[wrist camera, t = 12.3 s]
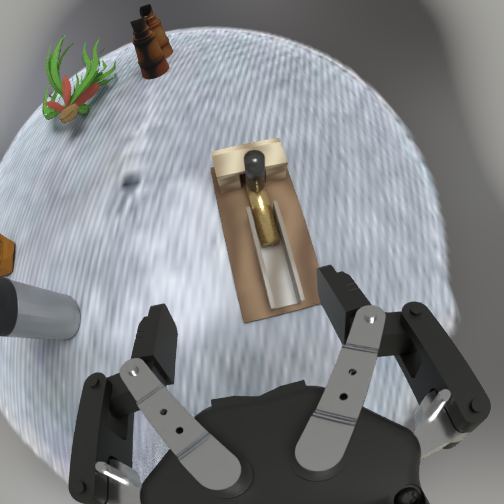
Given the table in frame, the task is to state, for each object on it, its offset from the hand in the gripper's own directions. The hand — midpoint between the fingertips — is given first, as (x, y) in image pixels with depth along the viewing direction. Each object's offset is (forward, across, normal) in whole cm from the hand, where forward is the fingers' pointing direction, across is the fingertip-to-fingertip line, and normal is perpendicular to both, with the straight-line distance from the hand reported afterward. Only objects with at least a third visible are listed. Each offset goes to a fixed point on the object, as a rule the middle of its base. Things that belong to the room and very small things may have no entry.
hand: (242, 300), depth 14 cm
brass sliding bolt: (+33, -5, +7) cm, 35 cm away
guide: (+32, -5, +12) cm, 34 cm away
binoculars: (+75, +12, -32) cm, 83 cm away
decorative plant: (+70, +36, -26) cm, 83 cm away
